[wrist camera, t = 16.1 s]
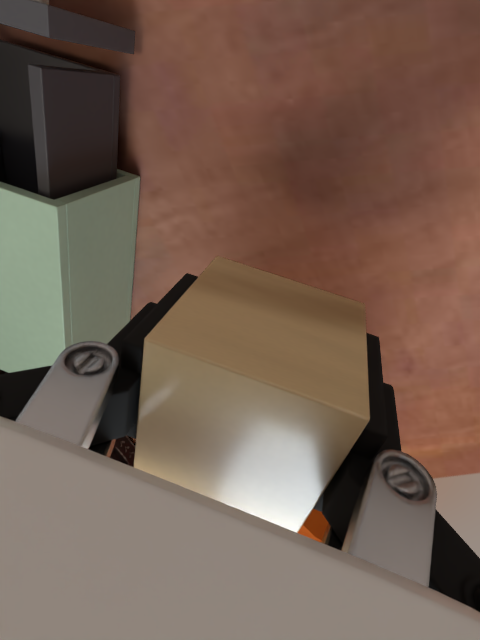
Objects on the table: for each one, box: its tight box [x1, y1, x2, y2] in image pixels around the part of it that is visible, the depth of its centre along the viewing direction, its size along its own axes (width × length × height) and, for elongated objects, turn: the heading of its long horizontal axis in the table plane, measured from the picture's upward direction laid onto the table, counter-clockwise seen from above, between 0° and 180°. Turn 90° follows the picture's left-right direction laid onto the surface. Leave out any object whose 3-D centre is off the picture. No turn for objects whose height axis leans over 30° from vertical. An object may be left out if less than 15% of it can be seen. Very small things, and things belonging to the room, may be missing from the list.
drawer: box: [0, 0, 135, 200], centre depth 22 cm, size 20×11×8 cm, turn 167°
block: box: [134, 256, 370, 533], centre depth 10 cm, size 5×5×5 cm
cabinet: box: [0, 169, 140, 373], centre depth 29 cm, size 16×13×10 cm
